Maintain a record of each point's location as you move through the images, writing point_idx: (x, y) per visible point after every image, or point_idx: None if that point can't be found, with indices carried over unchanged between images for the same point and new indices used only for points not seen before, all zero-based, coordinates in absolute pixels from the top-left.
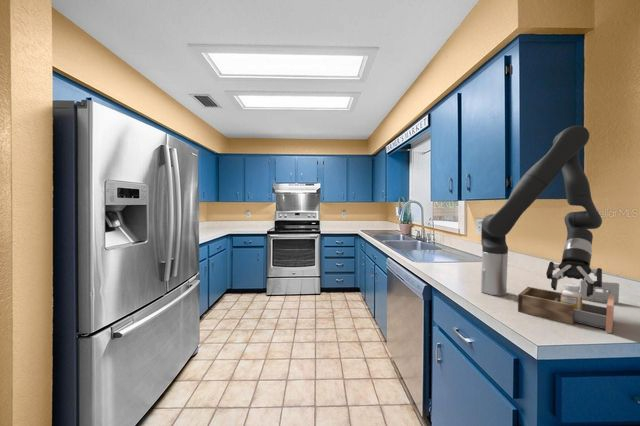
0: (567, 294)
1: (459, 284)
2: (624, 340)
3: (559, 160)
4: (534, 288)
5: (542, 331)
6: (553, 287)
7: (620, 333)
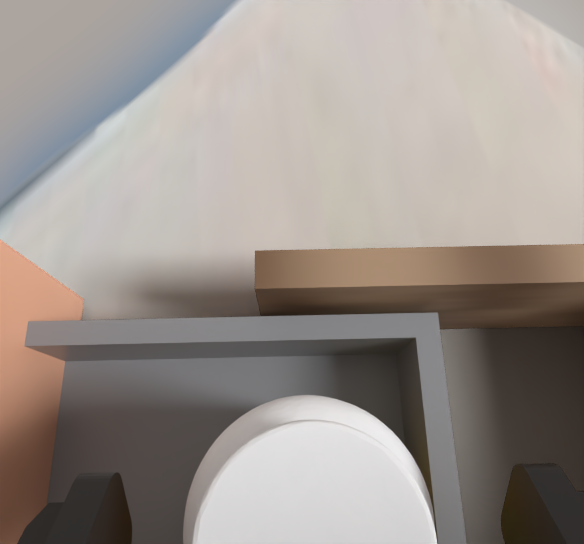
0: (336, 399)
1: None
2: None
3: None
4: None
5: (370, 50)
6: (540, 466)
7: None
